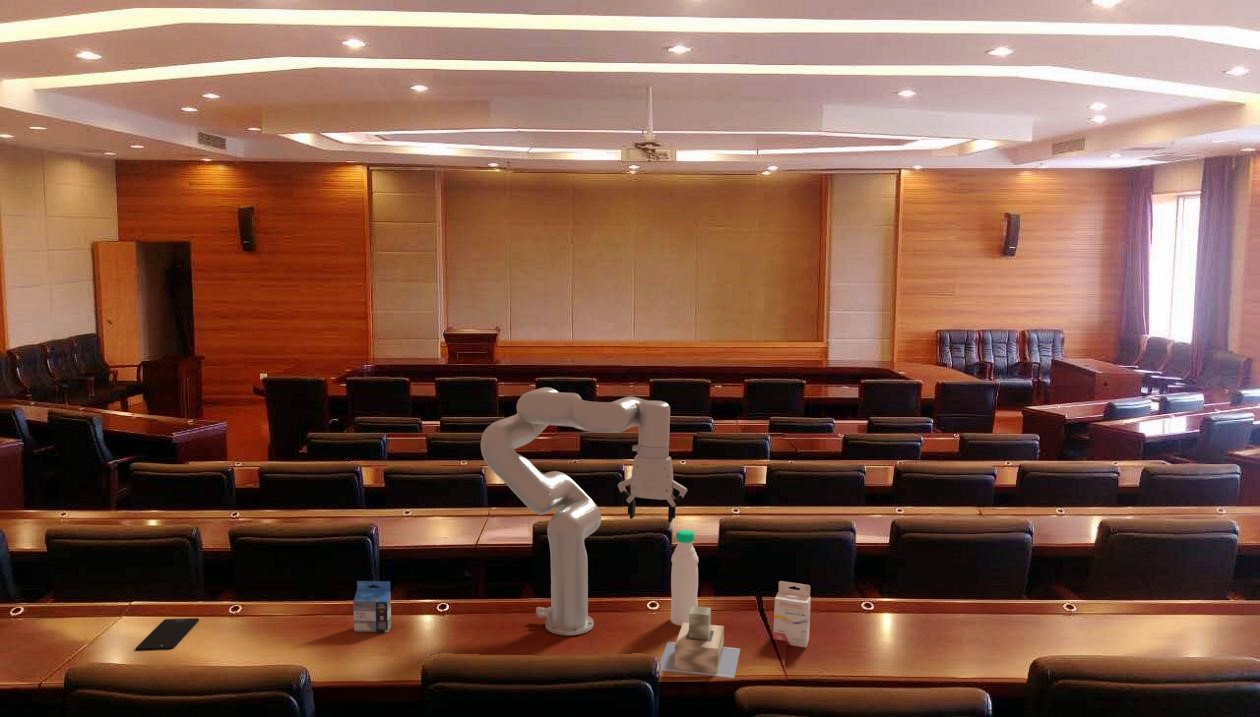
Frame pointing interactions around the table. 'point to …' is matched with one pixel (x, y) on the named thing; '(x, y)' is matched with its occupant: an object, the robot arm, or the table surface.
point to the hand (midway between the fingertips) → (651, 519)
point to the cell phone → (167, 634)
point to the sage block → (699, 622)
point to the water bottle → (684, 578)
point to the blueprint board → (725, 670)
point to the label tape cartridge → (372, 607)
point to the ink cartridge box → (792, 614)
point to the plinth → (699, 650)
